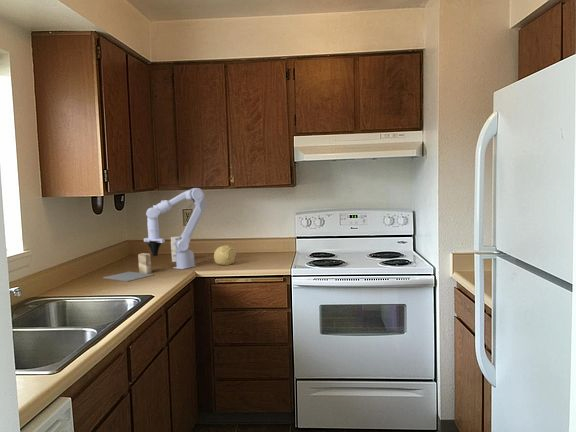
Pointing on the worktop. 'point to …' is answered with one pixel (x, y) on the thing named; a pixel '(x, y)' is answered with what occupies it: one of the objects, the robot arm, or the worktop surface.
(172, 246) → the ink cartridge box
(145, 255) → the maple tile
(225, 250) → the beige lumpy ball
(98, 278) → the worktop surface
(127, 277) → the mat
